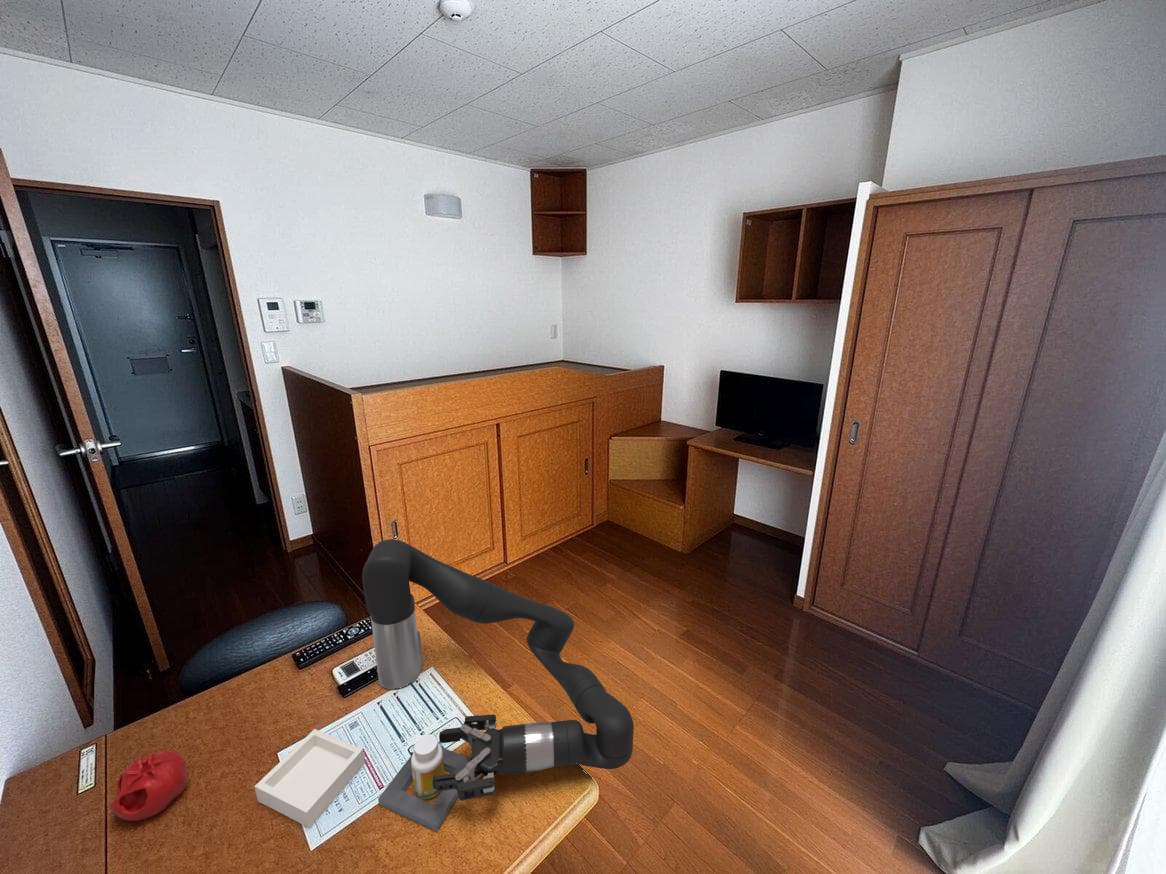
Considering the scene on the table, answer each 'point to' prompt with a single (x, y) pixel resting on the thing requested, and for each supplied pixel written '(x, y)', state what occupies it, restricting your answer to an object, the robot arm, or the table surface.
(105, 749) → the table surface
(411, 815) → the socket plate
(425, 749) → the supplement bottle
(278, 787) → the bin
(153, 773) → the pomegranate
